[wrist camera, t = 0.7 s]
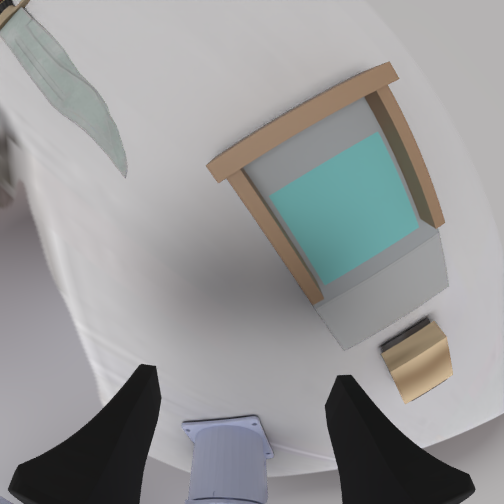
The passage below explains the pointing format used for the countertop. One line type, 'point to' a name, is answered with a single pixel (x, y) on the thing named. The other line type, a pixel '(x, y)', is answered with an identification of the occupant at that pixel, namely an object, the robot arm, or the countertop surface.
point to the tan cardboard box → (418, 360)
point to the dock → (314, 154)
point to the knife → (60, 79)
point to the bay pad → (347, 208)
